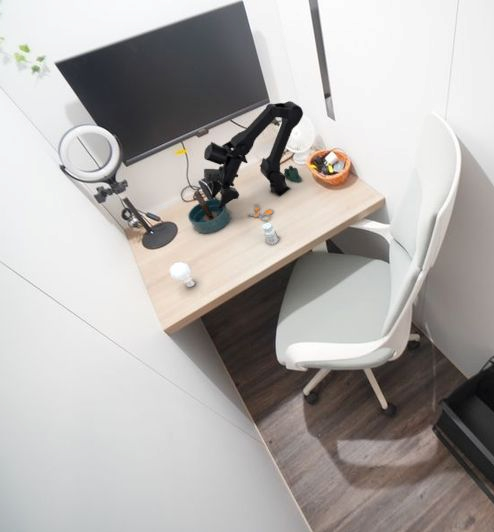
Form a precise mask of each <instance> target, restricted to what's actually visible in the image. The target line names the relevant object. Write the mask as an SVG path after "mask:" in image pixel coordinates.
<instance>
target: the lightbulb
mask: <svg viewBox="0 0 494 532" xmlns="http://www.w3.org/2000/svg"><path fill="white" fill-rule="evenodd" d="M169 274H170V276H171V277H172V278H173V279H174V280H175V281H178V282H182V283H184V284H185V285H186V287H188V288H191V287H193V286H194V285H195V284H196V282H195V280H194V279H193V277H192V268H191V266H190V265H189V264H188V263H187V262H184V261H177V262H175V263H173V264H172V265H171V266H170V268H169Z"/></svg>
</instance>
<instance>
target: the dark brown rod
mask: <svg viewBox="0 0 494 532" xmlns="http://www.w3.org/2000/svg"><path fill="white" fill-rule="evenodd" d="M193 194H194V197H195V198H196V200H197V202H198V204H200V206H201V207H202V209H203V211H204V212H205V214H206V215H205V216H204V217H203V220H204V221H205V222H207V221H210V220H212V219H215V218H216V217H217V216H218V214H217V213H216V212H211V211H210V209H209V207H208V205H207V204H206V202H205V201H206V200H205V198H204V196H203V195H202V193H201V192H200V191H199V190H196V191H194V193H193Z"/></svg>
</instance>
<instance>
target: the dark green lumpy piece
mask: <svg viewBox="0 0 494 532" xmlns="http://www.w3.org/2000/svg"><path fill="white" fill-rule="evenodd" d="M283 171H284V172H283V175H284V176H285V180H287V181H290V182H292V183H301V182H303V181H302V177H301V176H300V173H299V171H298V168H297V167H294V166H293V165H289V166H288V168H286V167H285V168H284V170H283Z"/></svg>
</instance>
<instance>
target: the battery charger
mask: <svg viewBox="0 0 494 532" xmlns="http://www.w3.org/2000/svg"><path fill="white" fill-rule="evenodd" d="M198 184H199V187H200V189H201V190H202V192H203V194H204V195H205V198H206V200H210V199H218V198H217V196H215V197H214V198H213V197H212V182H209V181H206V179H205V178H204V177H203V178H201V179H199V180H198Z"/></svg>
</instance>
